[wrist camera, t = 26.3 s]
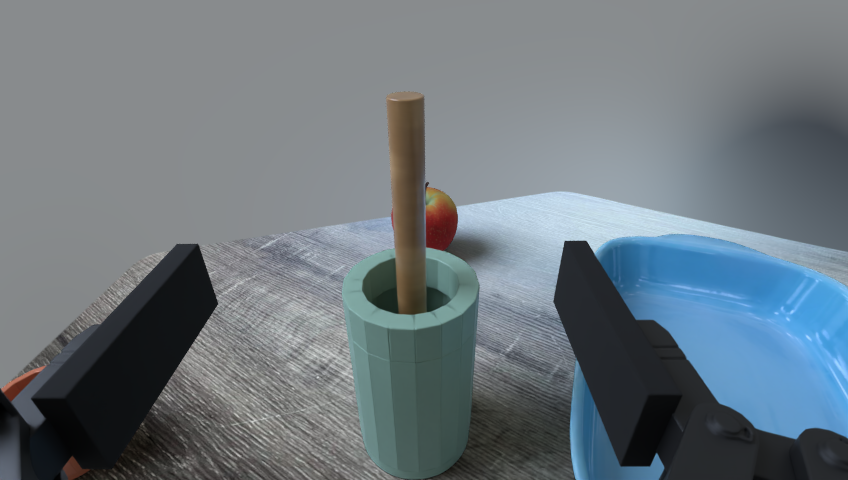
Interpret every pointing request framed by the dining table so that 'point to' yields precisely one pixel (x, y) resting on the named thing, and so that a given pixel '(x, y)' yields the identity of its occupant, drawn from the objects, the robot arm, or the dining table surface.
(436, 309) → the green cylindrical holder
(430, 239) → the apple
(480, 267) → the dining table surface
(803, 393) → the casserole dish
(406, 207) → the tan long rod
